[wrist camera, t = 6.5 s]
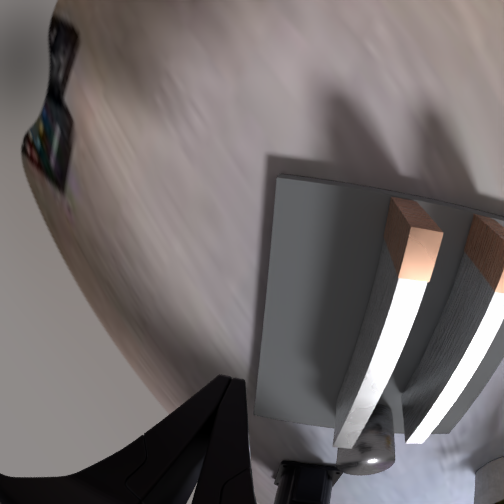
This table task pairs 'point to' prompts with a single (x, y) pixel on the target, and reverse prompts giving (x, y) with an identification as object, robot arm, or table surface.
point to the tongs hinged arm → (384, 339)
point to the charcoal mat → (347, 299)
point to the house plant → (490, 483)
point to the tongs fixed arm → (459, 331)
